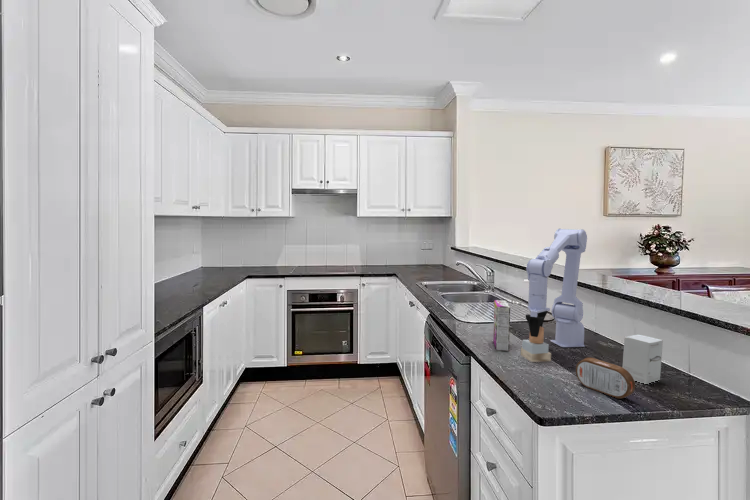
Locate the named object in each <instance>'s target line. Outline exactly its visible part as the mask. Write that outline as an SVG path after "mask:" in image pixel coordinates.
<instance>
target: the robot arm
mask: <svg viewBox="0 0 750 500" xmlns="http://www.w3.org/2000/svg"><path fill="white" fill-rule="evenodd" d="M553 239H554V240H553V241H552V242H551V244H550V246H546V247H544V248H543V249H542V250H541V252H540V253H539V254H538V255H537V256H536V257H535V258H532V259H530V260H528V262H527V264H526V267H525V268H526V273H527V280H528V303H527V309H528V311H529V312H530V314H525V316H524V318H525V319H526V321H527V324H528V327H529V334H530V335H531V336H533V337H538V334H539V329H540V326H541V327H543V324H544V321H545V319H546V316H547V314H548V312H550V311H551V316H552V317H553V318H554V321H555V322H556V323H555V339H550V342H551V343H553V344H556V346H559V347H561V348H582V347H583V348H585V347H586V345H585V343H584V342H585V326H584V324H583V323H582V322H581V321H582V320H583V318H584V305H583V304H584V303H583V301H581V300H580V299H579V298H578V297H577V291H578V290H577V288H578V280H579V271H580V264H581V257H582V254H583V253H585V252H586V249H587V244H588V234H587V232H586V230H585V229H583V228H582V229H581V228H580V229H578V228H577V229H576V228H575V229H569V228H557V229H556V230H555V232H554V236H553ZM561 251H562V252H565V263H564V264H565V265H564V271H563V278H562V287H561V295H558V296H557V297H555V298H554V301H553V303H552V307H551V308H550V307H547V298H548V278H549V276H551V273H552V271H553V268H554V264H555V263H556V262H557V260H559V258H560V252H561Z"/></svg>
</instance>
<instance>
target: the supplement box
mask: <svg viewBox="0 0 750 500" xmlns="http://www.w3.org/2000/svg"><path fill="white" fill-rule="evenodd" d="M623 339H624V340H623V341H624V342H623V354H622V366H621V367H622V368H624V369H626V370H627V371H628V372H629V373H630V374H631V375H632V377H633V379H634V382H635V381H637V382H636V383H638V382H640V383H639V384H641V383H644V384H648V385H650V384H649V383H651V382H654V383H656V382H655V381H658V380H661V371H662V369H661V368H662V358H663V357H662V356H663V347H664V346H663V344H664V341H663V340H664V339H660V338H656V337H652V336H648V335H643V334H638V333H637V334H633V335H628V336H624V338H623ZM658 382H659V381H658ZM651 384H652V383H651Z"/></svg>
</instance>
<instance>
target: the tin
mask: <svg viewBox="0 0 750 500" xmlns="http://www.w3.org/2000/svg"><path fill="white" fill-rule="evenodd" d="M575 375H576V378H577V380H578V381H579V382H580V384H582V385H583V386H584V387H585V388H588V389H590V390H593V391H596V392H598V393H601V394H603V393H604V395H607V396H609V397H611V396H612V398H614V397H615V399H624V398H626V397H629V396H631V395H632V394H633V393H634V391H635V388H636V384H635V383H636V382H635V381H634V379H633V377H632V375H631V374H630V373H629V372H628V371H627V370H626V369H624V368H622V366H619V365H616V364H615V363H614V364H613V363H610V362H607V361H604V360H602V359H601V360H600V359H597V358H595V357H585V358H583V359H582V360H579V361H578V362H577V363H576V365H575Z"/></svg>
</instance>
